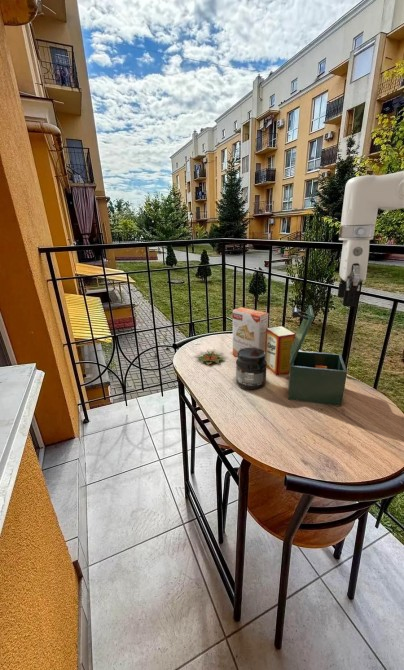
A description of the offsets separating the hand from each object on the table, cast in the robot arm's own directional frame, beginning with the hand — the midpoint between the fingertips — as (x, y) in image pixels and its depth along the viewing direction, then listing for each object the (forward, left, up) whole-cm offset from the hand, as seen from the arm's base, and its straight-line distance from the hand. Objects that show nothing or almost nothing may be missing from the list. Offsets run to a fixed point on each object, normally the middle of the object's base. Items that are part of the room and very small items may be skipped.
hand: (346, 301), depth 75 cm
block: (+4, -4, -28) cm, 28 cm away
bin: (+7, -3, -32) cm, 33 cm away
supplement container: (+26, +5, -32) cm, 42 cm away
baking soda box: (+24, -11, -32) cm, 42 cm away
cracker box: (+38, -12, -32) cm, 51 cm away
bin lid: (+12, -1, -12) cm, 17 cm away
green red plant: (+50, -1, -32) cm, 60 cm away
